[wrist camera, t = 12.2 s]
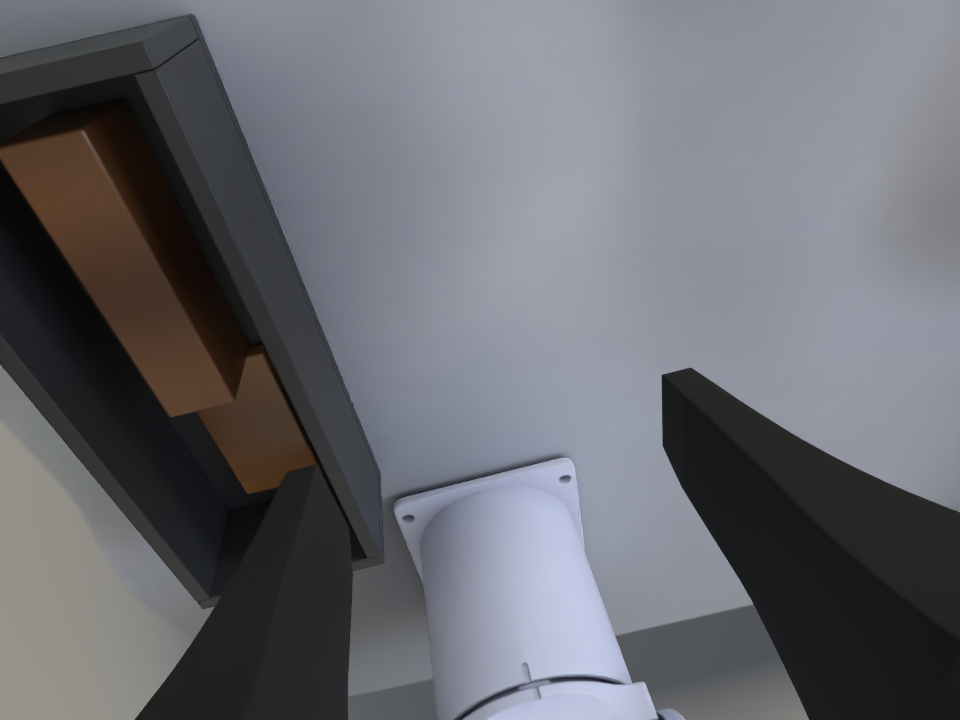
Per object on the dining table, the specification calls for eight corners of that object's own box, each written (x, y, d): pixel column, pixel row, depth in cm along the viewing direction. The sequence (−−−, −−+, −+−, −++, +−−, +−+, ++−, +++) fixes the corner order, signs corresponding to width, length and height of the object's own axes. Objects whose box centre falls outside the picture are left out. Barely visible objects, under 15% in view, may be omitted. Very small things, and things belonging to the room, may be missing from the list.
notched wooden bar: (324, 465, 24) (320, 525, 22) (249, 484, 24) (237, 547, 21) (144, 91, 16) (105, 122, 13) (27, 118, 16) (-33, 154, 13)
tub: (380, 472, 25) (384, 563, 22) (224, 511, 25) (202, 609, 22) (194, 13, 15) (144, 40, 12) (-69, 72, 15) (-203, 120, 11)
